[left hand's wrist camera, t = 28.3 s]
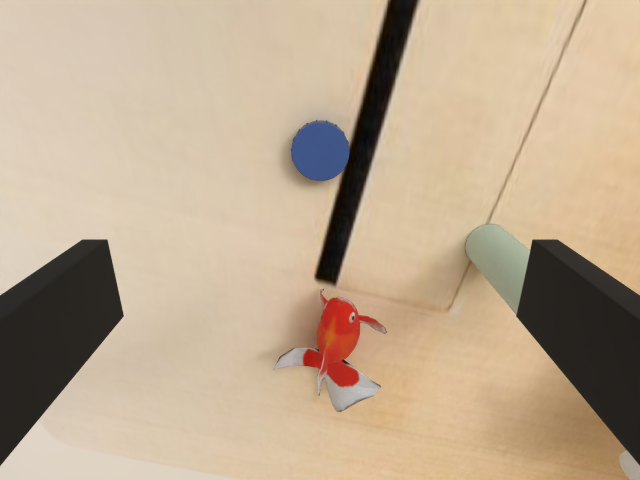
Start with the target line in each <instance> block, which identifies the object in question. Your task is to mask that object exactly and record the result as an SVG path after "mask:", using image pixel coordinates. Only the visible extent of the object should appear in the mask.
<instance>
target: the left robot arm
mask: <svg viewBox="0 0 640 480" xmlns="http://www.w3.org/2000/svg"><path fill="white" fill-rule="evenodd" d="M123 316H124V315H123V310H122V306H121V301H120V296H119V292H118V287H117V282H116V278H115V273H114V268H113V264H112V259H111V254H110V250H109V245H108V240H81V241H80V242H78V243H77V244H75V245H74V246H72V247H71V248H69V249H68V250H67V251H65V252H64V253H62V254H61V255H59V256H58V257H56V258H55V259H53V260H52V261H50V262H49V263H47V264H46V265H44V266H43V267H42V268H40V269H39V270H37V271H36V272H34V273H33V274H31V275H30V276H28V277H27V278H25V279H24V280H22V281H21V282H19V283H18V284H16V285H15V286H14V287H12V288H11V289H9V290H8V291H6V292H5V293H3V294H2V295H0V465H1V464H2V463H3V462H4V461H5V459H6V458H7V457H8V456H9V454H10V453H11V452H12V451H13V450H14V448H15V447H16V446H17V445H18V444H19V442H20V441H21V440H22V439H23V438H24V436H25V435H26V434H27V433H28V432H29V430H30V429H31V428H32V427H33V425H34V424H35V423H36V422H37V421H38V419H39V418H40V417H41V416H42V415H43V413H44V412H45V411H46V410H47V408H48V407H49V406H50V405H51V404H52V402H53V401H54V400H55V399H56V398H57V396H58V395H59V394H60V393H61V392H62V390H63V389H64V388H65V387H66V385H67V384H68V383H69V382H70V381H71V379H72V378H73V377H74V376H75V375H76V373H77V372H78V371H79V370H80V369H81V367H82V366H83V365H84V364H85V362H86V361H87V360H88V359H89V358H90V356H91V355H92V354H93V353H94V352H95V350H96V349H97V348H98V347H99V345H100V344H101V343H102V342H103V341H104V339H105V338H106V337H107V336H108V335H109V333H110V332H111V331H112V330H113V329H114V327H115V326H116V325H117V324H118V322H119V321H120V320H121V319H122V318H123ZM516 316H517V318H518V319H519V320H520V321H521V322H522V324H523V325H524V326H525V327H526V329H527V330H528V331H529V332H530V333H531V335H532V336H533V337H534V338H535V339H536V341H537V342H538V343H539V344H540V345H541V347H542V348H543V349H544V350H545V352H546V353H547V354H548V355H549V356H550V358H551V359H552V360H553V361H554V362H555V364H556V365H557V366H558V367H559V369H560V370H561V371H562V372H563V373H564V375H565V376H566V377H567V378H568V379H569V381H570V382H571V383H572V384H573V385H574V387H575V388H576V389H577V390H578V392H579V393H580V394H581V395H582V396H583V398H584V399H585V400H586V401H587V402H588V404H589V405H590V406H591V407H592V408H593V410H594V411H595V412H596V413H597V415H598V416H599V417H600V418H601V419H602V421H603V422H604V423H605V424H606V425H607V427H608V428H609V429H610V430H611V432H612V433H613V434H614V435H615V436H616V438H617V439H618V440H619V441H620V442H621V444H622V445H623V446H624V447H625V448H626V450H627V451H628V452H629V453H630V455H631V456H632V457H633V458H634V459H635V461H636V462H637V463H638V464H639V465H640V295H638V294H637V293H635V292H634V291H632V290H631V289H629V288H628V287H626V286H625V285H624V284H622V283H621V282H619V281H618V280H616V279H615V278H613V277H612V276H610V275H609V274H607V273H606V272H604V271H603V270H601V269H600V268H598V267H597V266H596V265H594V264H593V263H591V262H590V261H588V260H587V259H585V258H584V257H582V256H581V255H579V254H578V253H576V252H575V251H573V250H572V249H571V248H569V247H568V246H566V245H565V244H563V243H562V242H560V241H559V240H532V245H531V250H530V254H529V259H528V264H527V268H526V273H525V278H524V282H523V287H522V292H521V296H520V301H519V306H518V310H517V315H516Z"/></svg>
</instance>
